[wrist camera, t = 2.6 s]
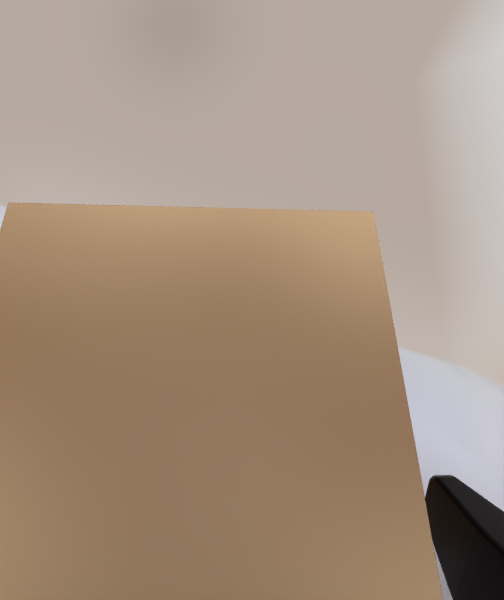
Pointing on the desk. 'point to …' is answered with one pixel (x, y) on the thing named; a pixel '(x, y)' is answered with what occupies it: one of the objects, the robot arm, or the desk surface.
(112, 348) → the oak block
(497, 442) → the desk surface
